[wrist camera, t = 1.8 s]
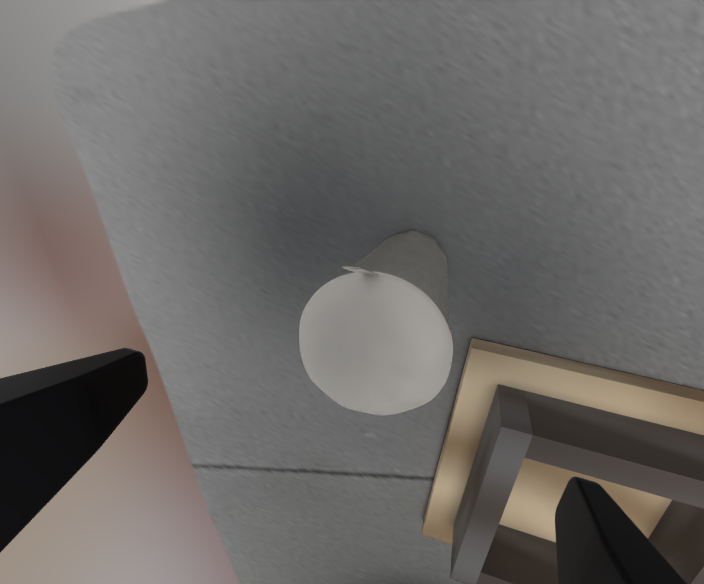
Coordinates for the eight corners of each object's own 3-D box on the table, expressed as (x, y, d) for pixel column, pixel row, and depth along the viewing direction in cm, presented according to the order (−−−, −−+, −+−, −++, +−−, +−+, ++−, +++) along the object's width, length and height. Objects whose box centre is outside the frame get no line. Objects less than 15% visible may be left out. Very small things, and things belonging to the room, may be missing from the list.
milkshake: (469, 199, 17) (460, 276, 8) (457, 313, 19) (440, 476, 10) (365, 195, 18) (257, 258, 9) (365, 303, 20) (276, 440, 11)
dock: (660, 598, 22) (696, 690, 18) (423, 519, 24) (414, 585, 21) (793, 411, 16) (881, 489, 13) (471, 337, 19) (470, 385, 16)
